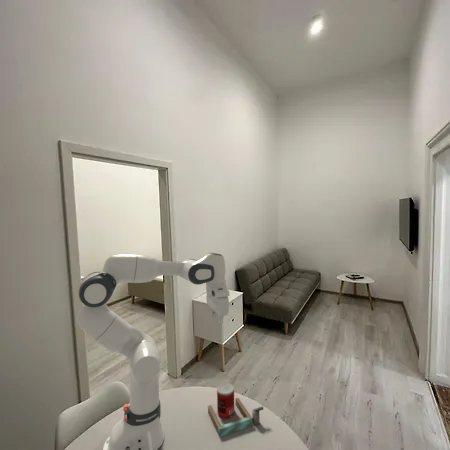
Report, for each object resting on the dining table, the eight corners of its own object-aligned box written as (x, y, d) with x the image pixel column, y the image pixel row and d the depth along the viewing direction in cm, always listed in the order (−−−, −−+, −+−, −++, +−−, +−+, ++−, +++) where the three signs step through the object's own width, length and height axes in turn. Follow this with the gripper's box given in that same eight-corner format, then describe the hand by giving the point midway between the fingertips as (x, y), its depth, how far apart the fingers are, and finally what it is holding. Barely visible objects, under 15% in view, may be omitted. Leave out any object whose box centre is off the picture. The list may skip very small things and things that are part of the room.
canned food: (235, 406, 120) (234, 383, 120) (233, 419, 112) (233, 394, 112) (218, 406, 120) (218, 382, 121) (216, 418, 112) (215, 393, 113)
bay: (219, 438, 102) (219, 423, 102) (208, 412, 116) (207, 399, 116) (265, 423, 109) (264, 409, 109) (248, 400, 124) (248, 388, 124)
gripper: (202, 284, 124) (203, 313, 124) (216, 294, 105) (217, 328, 105) (215, 283, 127) (215, 311, 127) (231, 293, 108) (231, 326, 107)
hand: (216, 319), depth 116 cm, fingers open, 8 cm apart
